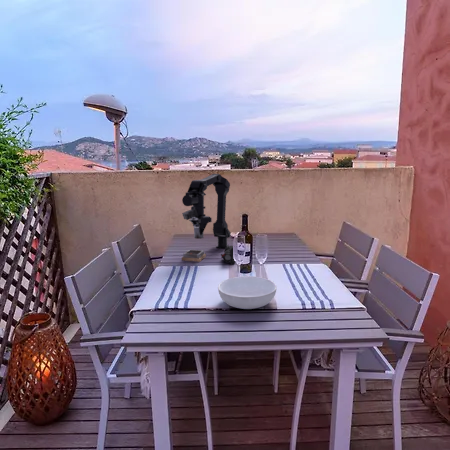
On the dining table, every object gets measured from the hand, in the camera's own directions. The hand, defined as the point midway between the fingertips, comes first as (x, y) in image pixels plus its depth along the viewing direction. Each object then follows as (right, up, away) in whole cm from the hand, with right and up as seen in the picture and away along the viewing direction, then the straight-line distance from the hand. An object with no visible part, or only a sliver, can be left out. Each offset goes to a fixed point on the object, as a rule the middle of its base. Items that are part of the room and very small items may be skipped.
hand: (198, 233), depth 181 cm
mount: (-3, -13, 0) cm, 13 cm away
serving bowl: (+22, -24, -57) cm, 66 cm away
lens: (0, -2, 0) cm, 2 cm away
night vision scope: (+16, -14, -5) cm, 22 cm away
